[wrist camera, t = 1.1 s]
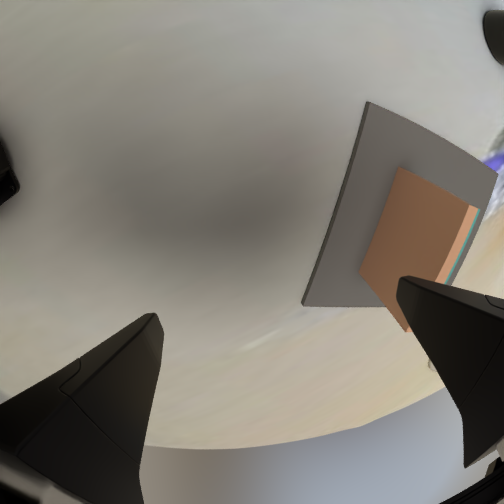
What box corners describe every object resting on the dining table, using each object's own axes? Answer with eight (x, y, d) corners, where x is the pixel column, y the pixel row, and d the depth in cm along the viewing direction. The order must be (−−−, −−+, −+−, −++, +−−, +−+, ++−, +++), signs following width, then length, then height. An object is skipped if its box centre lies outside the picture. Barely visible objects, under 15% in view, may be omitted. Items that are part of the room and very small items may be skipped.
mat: (301, 302, 27) (302, 306, 26) (366, 101, 18) (370, 102, 18) (437, 303, 32) (439, 305, 32) (495, 172, 24) (498, 173, 23)
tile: (358, 272, 25) (405, 332, 19) (398, 166, 21) (469, 204, 14) (370, 273, 26) (418, 331, 19) (410, 171, 21) (480, 209, 15)
